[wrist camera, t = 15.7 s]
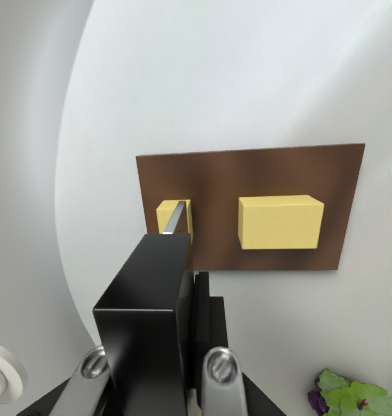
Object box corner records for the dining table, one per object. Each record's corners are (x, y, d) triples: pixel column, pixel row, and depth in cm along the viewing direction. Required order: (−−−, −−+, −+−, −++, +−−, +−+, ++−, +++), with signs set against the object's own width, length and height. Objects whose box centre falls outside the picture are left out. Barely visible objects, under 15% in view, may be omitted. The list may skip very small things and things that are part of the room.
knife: (179, 304, 16) (144, 492, 7) (168, 201, 13) (90, 309, 4) (202, 304, 16) (196, 496, 7) (197, 199, 13) (175, 310, 4)
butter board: (156, 263, 25) (153, 270, 24) (140, 155, 21) (135, 156, 19) (329, 262, 23) (337, 270, 22) (354, 143, 19) (365, 143, 17)
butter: (238, 235, 21) (242, 249, 18) (238, 197, 20) (243, 206, 17) (302, 234, 21) (316, 248, 18) (307, 194, 19) (324, 203, 16)
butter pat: (167, 237, 22) (161, 250, 19) (163, 200, 21) (155, 209, 18) (193, 236, 22) (190, 250, 19) (190, 199, 20) (187, 208, 17)
